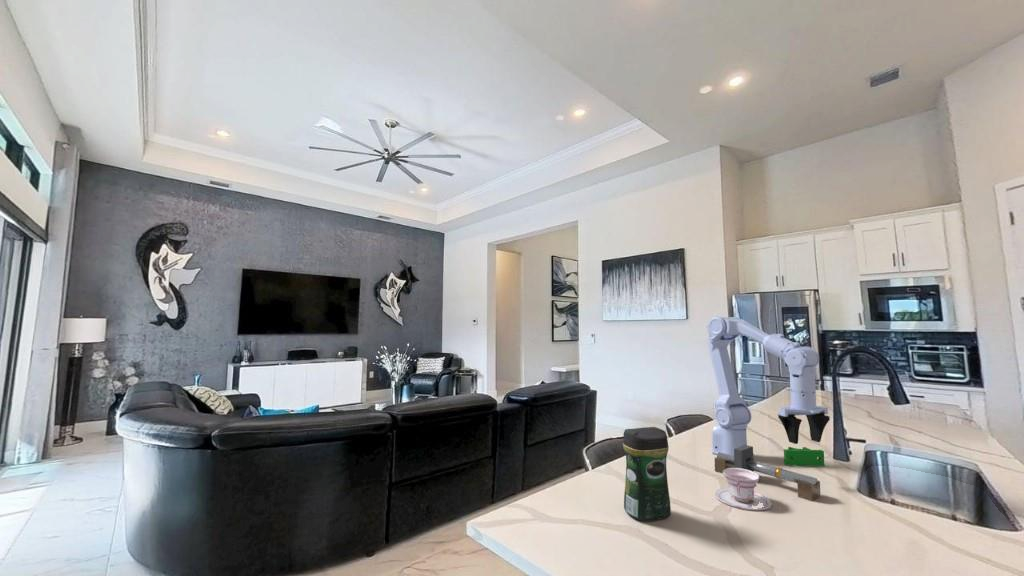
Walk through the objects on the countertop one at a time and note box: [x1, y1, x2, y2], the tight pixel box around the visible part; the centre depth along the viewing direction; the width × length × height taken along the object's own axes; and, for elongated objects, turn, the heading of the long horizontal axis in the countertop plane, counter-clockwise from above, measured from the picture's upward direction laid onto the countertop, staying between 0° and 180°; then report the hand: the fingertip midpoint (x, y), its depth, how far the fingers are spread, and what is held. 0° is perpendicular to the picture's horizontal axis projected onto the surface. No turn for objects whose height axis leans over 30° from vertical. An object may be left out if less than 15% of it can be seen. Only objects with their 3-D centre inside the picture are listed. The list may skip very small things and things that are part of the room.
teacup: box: [714, 468, 773, 512], centre depth 101 cm, size 12×12×6 cm
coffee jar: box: [622, 426, 672, 522], centre depth 94 cm, size 10×8×19 cm
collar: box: [734, 444, 755, 472], centre depth 116 cm, size 2×6×7 cm, turn 125°
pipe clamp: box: [783, 446, 826, 467], centre depth 127 cm, size 11×4×5 cm, turn 89°
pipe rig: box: [714, 452, 822, 502], centre depth 112 cm, size 24×5×5 cm, turn 35°
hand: (804, 442), depth 114 cm, fingers open, 7 cm apart
